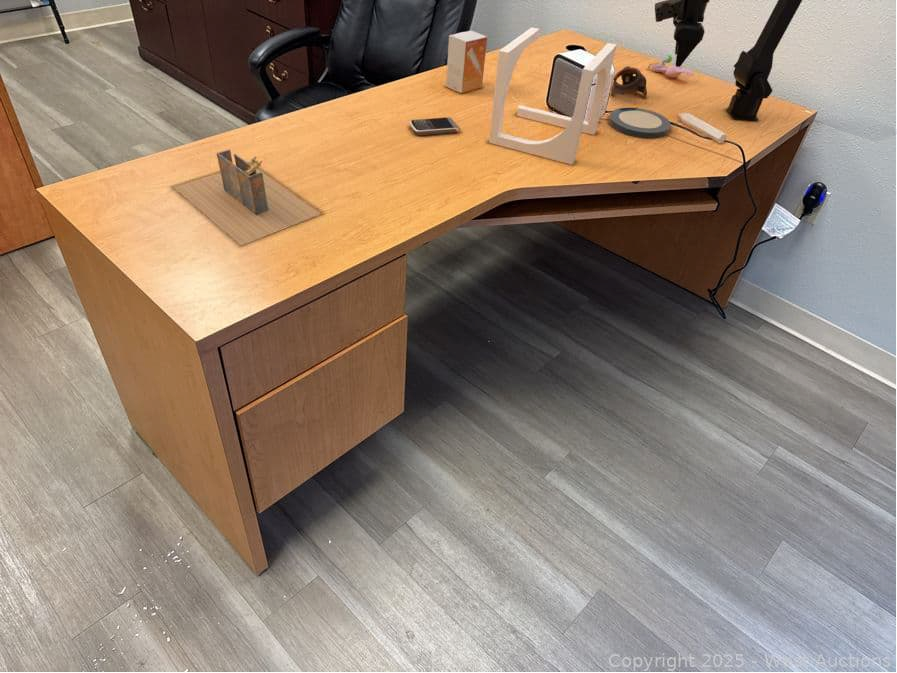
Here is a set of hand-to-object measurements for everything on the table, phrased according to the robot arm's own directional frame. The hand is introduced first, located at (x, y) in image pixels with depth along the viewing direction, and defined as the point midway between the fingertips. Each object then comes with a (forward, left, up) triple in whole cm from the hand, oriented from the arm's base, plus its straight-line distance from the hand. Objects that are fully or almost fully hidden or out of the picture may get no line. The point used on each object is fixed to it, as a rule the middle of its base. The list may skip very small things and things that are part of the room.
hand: (677, 60), depth 147 cm
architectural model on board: (+92, +56, -14) cm, 109 cm away
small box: (+52, -9, -14) cm, 54 cm away
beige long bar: (-8, +8, -14) cm, 18 cm away
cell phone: (+58, +19, -14) cm, 63 cm away
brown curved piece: (+6, -12, -14) cm, 19 cm away
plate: (+7, +8, -14) cm, 17 cm away
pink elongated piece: (-10, -29, -14) cm, 34 cm away
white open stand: (+33, +19, -14) cm, 40 cm away
